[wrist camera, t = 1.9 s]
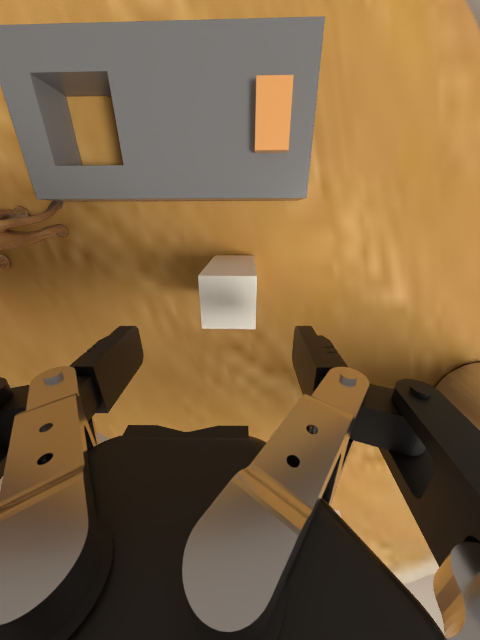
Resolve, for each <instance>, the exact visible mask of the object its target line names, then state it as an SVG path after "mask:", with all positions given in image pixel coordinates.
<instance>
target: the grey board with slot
mask: <svg viewBox="0 0 480 640" xmlns="http://www.w3.org/2000/svg"><path fill="white" fill-rule="evenodd" d="M324 20H325V17H287V18H249V19H211V20H174V21H136V22H98V23H60V24H22V25H0V84H1V87H2V91H3V94H4V97H5V100H6V103H7V106H8V109H9V113H10V116H11V119H12V122H13V125H14V128H15V131H16V135H17V138H18V141H19V144H20V147H21V150H22V153H23V157H24V160H25V163H26V166H27V169H28V172H29V175H30V179H31V182H32V185H33V188H34V191H35V194H36V197H37V199H41V200H54V201H67V202H70V201H286V200H301V199H304V198H307V189H308V179H309V169H310V159H311V149H312V139H313V129H314V119H315V110H316V100H317V90H318V80H319V70H320V60H321V50H322V40H323V30H324ZM66 96H112V102H113V107H114V113H115V119H116V125H117V130H118V136H119V142H120V148H121V153H122V159H123V165H95V166H82V163H81V158H80V154H79V150H78V146H77V142H76V137H75V133H74V129H73V125H72V120H71V116H70V112H69V108H68V103H67V99H66Z"/></svg>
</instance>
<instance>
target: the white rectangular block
mask: <svg viewBox="0 0 480 640" xmlns="http://www.w3.org/2000/svg"><path fill="white" fill-rule="evenodd" d="M198 283H199V296H200V309H201V322H202V329H255V328H256V292H257V273H256V267H255V260H254V255H215V256H214V257H213V258H212V259H211V261H210V262H209V263H208V264H207V265H206V267H205V268H204V269H203V270H202V272H201V273H200V274H199V275H198Z"/></svg>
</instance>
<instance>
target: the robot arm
mask: <svg viewBox="0 0 480 640" xmlns="http://www.w3.org/2000/svg"><path fill="white" fill-rule="evenodd" d="M292 361H293V366H294V369H295V372H296V375H297V378H298V381H299V384H300V387H301V390H302V393H303V396H302V397H301V399H300V400H299V401H298V402H297V404H296V405H295V406H294V408H293V409H292V410H291V412H290V413H289V414H288V416H287V417H286V418H285V419H284V421H283V422H282V423H281V425H280V426H279V427H278V429H277V430H276V431H275V433H274V434H273V435H272V437H271V438H270V439H269V440H268V442H267V443H266V442H264V441H262V440H260V439H257V438H255V437H251V436H248V426H215V427H210V428H205V429H201V430H196V431H191V432H182V431H178V430H174V429H170V428H166V427H162V426H158V425H128V427H127V428H126V430H125V432H124V434H123V436H119V437H115V438H112V439H109V440H107V441H104V442H102V443H100V444H98V438H97V434H96V429H95V424H94V420H93V418H92V416H93V415H94V414H95V413H108V412H109V411H110V409H111V408H112V407H113V405H114V404H115V402H116V401H117V399H118V398H119V396H120V395H121V393H122V392H123V391H124V389H125V388H126V386H127V385H128V383H129V382H130V380H131V379H132V378H133V376H134V375H135V373H136V372H137V370H138V369H139V367H140V366H141V364H142V362H143V349H142V344H141V340H140V335H139V330H138V328H137V327H136V326H119V327H118V328H117V329H116V330H115V331H113V332H112V333H111V334H110V335H109V336H107V337H105V338H103V339H101V340H99V341H98V342H97V343H96V344H94V345H93V346H92V347H91V348H90V349H89V350H87V352H85V353H84V354H83V355H82V356H80V357H79V358H78V359H77V360H76V361H75V362H73V363H72V364H71V365H70V366H63V367H57V368H53V369H50V370H47V371H45V372H43V373H41V374H39V375H38V376H36V377H35V378H34V379H33V380H32V381H31V382H30V385H26V386H20V387H15V388H10V386H9V384H8V382H7V381H6V379H4V378H0V479H1V478H2V476H3V480H2V485H1V491H0V640H480V362H479V363H472V364H469V365H465V366H462V367H460V368H458V369H456V370H454V371H452V372H451V373H449V374H448V375H446V376H445V377H444V378H443V379H442V380H441V381H440V382H439V383H438V384H437V386H436V387H435V388H434V387H432V386H430V385H428V384H426V383H423V382H420V381H417V380H412V379H402V380H399V381H397V382H396V385H395V388H394V389H390V388H385V387H380V386H375V385H372V384H369V380H368V378H367V377H366V376H365V375H364V374H362V373H361V372H359V371H357V370H355V369H352V368H348V366H347V365H346V363H345V362H344V361H343V359H342V358H341V356H340V355H339V353H337V350H336V349H335V348H334V346H333V344H332V343H331V342H330V340H328V339H327V338H325V337H324V336H317V335H316V333H315V331H314V330H313V328H312V326H296V327H295V331H294V341H293V352H292ZM354 440H355V441H358V442H362V443H365V444H369V445H372V446H376V447H378V448H379V450H380V452H381V454H382V456H383V457H384V459H385V461H386V463H387V465H388V467H389V469H390V471H391V473H392V475H393V477H394V479H395V481H396V483H397V485H398V487H399V489H400V491H401V493H402V495H403V497H404V499H405V501H406V503H407V505H408V506H409V508H410V510H411V512H412V514H413V516H414V518H415V520H416V522H417V524H418V526H419V528H420V530H421V532H422V534H423V536H424V538H425V540H426V542H427V544H428V546H429V548H430V550H431V552H432V554H433V555H434V557H435V559H436V561H437V563H438V565H439V567H440V568H439V569H438V570H437V572H436V573H435V576H434V582H433V585H434V593H435V597H436V600H437V603H438V606H439V608H440V611H441V614H442V618H443V623H444V631H445V635H444V634H443V633H442V631H441V630H440V628H439V627H438V625H437V624H436V623H435V621H434V620H433V618H432V617H431V616H430V614H429V613H428V612H427V611H426V609H425V608H424V607H423V606H422V605H421V603H420V602H419V601H418V600H417V599H416V598H415V597H414V595H413V594H411V592H410V591H409V590H408V589H407V588H406V587H405V586H404V585H403V584H402V583H401V581H400V580H399V579H398V578H397V577H396V576H395V575H394V574H393V573H392V572H391V571H390V570H389V569H388V568H387V566H386V565H385V564H384V563H383V562H382V561H381V560H380V559H379V558H378V557H377V556H376V555H375V554H374V552H373V551H372V550H371V549H370V548H369V547H368V546H367V545H366V544H365V543H364V542H363V541H362V540H361V539H360V537H359V536H358V535H357V534H356V533H355V532H354V531H353V530H352V529H351V528H350V527H349V526H348V525H347V523H346V522H345V521H344V520H343V519H342V518H341V517H340V516H339V515H338V514H337V513H336V512H335V511H334V510H333V508H332V507H331V503H332V500H333V497H334V494H335V491H336V488H337V485H338V482H339V479H340V476H341V474H342V471H343V468H344V466H345V463H346V461H347V458H348V455H349V453H350V450H351V448H352V445H353V442H354Z"/></svg>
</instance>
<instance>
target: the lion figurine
mask: <svg viewBox="0 0 480 640" xmlns="http://www.w3.org/2000/svg"><path fill="white" fill-rule="evenodd" d="M62 204H63V201H53V202H52V203H51V204H50V205H49V207H48V209H47V210H46V211H45V212H43V213H41V214H38V215H35V216H30V217H28V211H27V210H26V209H25V208H23V207H15V208H14V210H0V250H1V249H11V248H16V247H24V246H27V245H30V244H33V243H36V242H38V241H41V240H43V239H45V238H47V237H50V236H54V235H58V236H60V237H65V236H67V235H68V230H67V229H66V227H65V226H64V225H61V224H58V225H55V226H49V227H45V228H43V229H42V230H39V231H36V232H18V231H13V230H9V228H12V227H17V226H23V225H28V224H32V223H36V222H40V221H43V220H45V219H47V218H48V217H50V216H51V215H52V214H53V213H54V212H55V211H57V210H58V209H60V208H61V207H62ZM13 218H14V219H13ZM0 267H1V268H9V267H10V261H9V260H8V259H7V257H6V256H4V255H0Z"/></svg>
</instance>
